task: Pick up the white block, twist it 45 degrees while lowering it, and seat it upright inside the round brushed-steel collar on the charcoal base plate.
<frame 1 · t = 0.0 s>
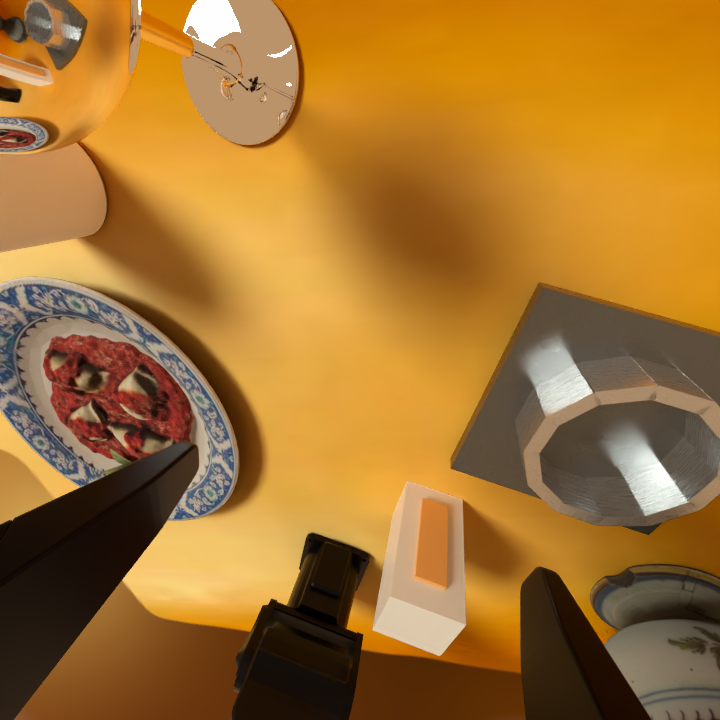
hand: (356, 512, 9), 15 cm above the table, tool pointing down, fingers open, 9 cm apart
apothecary jar: (657, 599, 28), on the table
white block: (426, 507, 29), on the table
ceramic plate: (126, 406, 33), on the table
wineglass: (242, 71, 18), on the table
duct collar: (597, 418, 22), on the table
can: (71, 184, 23), on the table
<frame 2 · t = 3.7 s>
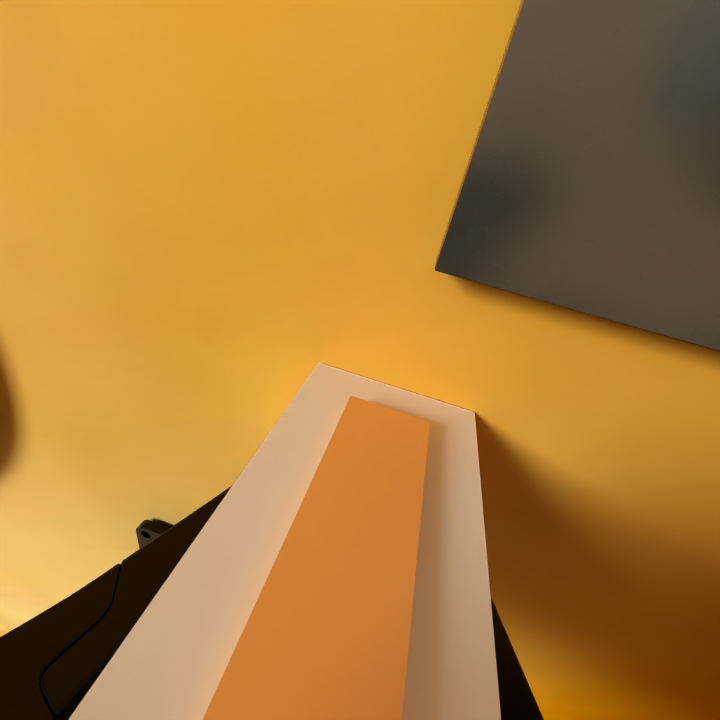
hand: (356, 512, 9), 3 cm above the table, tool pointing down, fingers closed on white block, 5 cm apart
white block: (375, 444, 11), on the table, touching gripper
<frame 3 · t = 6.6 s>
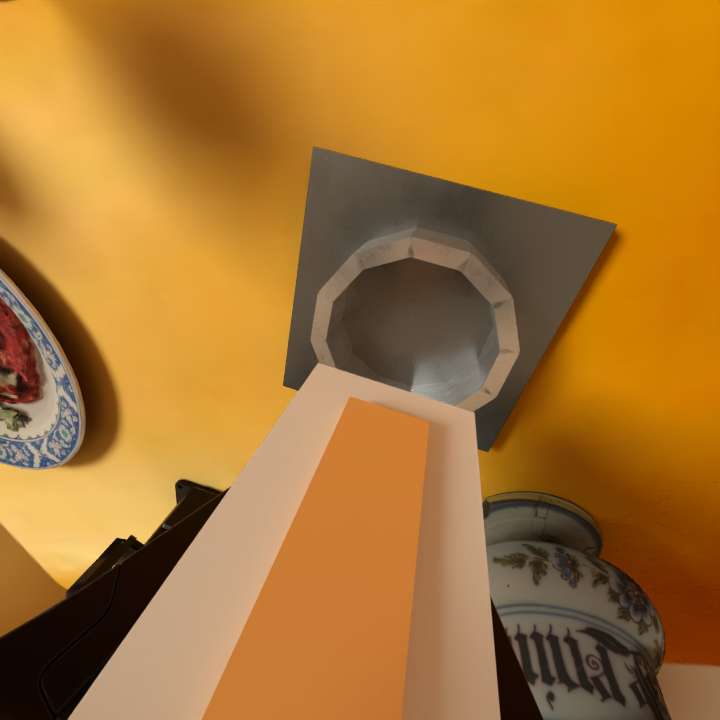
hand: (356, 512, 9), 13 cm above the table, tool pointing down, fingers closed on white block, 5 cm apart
apothecary jar: (524, 535, 26), on the table
white block: (375, 444, 11), point 11 cm above the table, touching gripper
duct collar: (415, 316, 20), on the table
when the fingers open (5 cm above the table, at t = 9.9 s): white block drops 1 cm, resting on duct collar.
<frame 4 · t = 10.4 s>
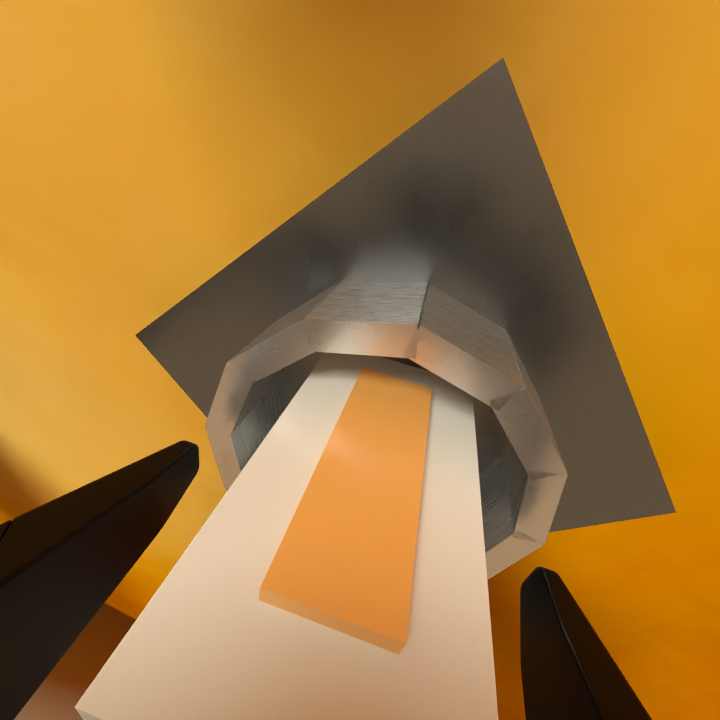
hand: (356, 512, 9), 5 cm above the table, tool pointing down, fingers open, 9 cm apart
white block: (383, 416, 12), point 1 cm above the table, touching duct collar
duct collar: (389, 400, 13), on the table
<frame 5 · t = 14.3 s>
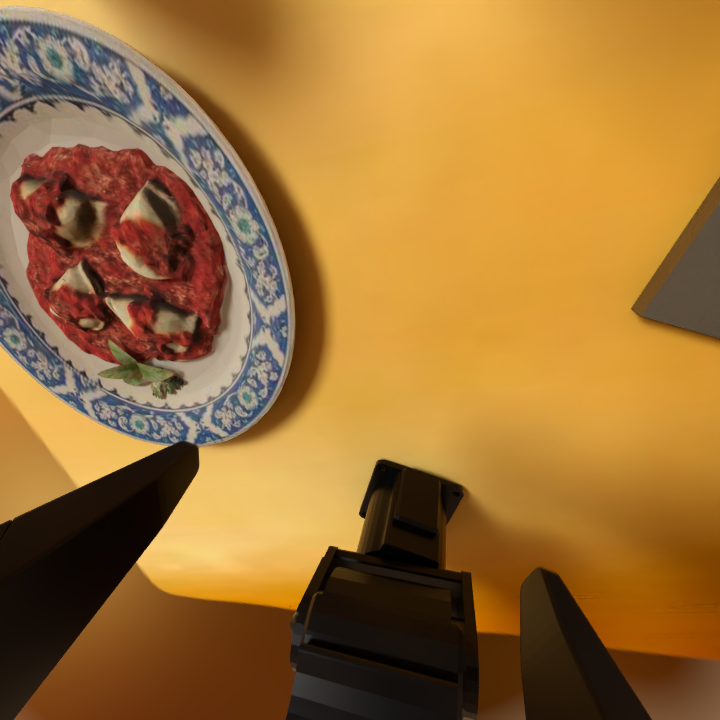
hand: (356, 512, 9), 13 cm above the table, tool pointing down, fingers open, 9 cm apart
ceramic plate: (130, 278, 24), on the table
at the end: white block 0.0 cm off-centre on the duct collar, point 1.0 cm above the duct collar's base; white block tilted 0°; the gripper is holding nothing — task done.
